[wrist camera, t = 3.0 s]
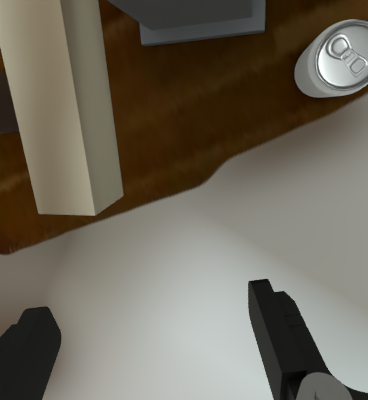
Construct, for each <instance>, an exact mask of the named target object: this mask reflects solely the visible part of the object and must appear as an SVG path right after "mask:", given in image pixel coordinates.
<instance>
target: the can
mask: <svg viewBox="0 0 368 400" xmlns="http://www.w3.org/2000/svg"><path fill="white" fill-rule="evenodd" d="M294 75H295V81H296V84H297V86H298V88H299V89H300V90H301V91H302V92H303V93H305V94H306V95H308V96H311V97H334V96H343V95H348V94H351V93H354V92H356V91H358V90H360V89H362V88H363V87H364V86H366V85H367V84H368V22H367V21H363V20H345V21H341V22H338V23H336V24H334V25H332V26H330V27H329V28H327V29H326V30H325V31H323V32H322V33H321V34H320V35H319V36H318V37H317V38H316V39H315V40H314V41H313V42H312V43H311V44H310V45H309V46H308V47H307V48H306V50H305V51H304V52H303V53H302V54H301V56H300V57H299V59H298V61H297V63H296V66H295V73H294Z"/></svg>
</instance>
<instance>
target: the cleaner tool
mask: <svg viewBox="0 0 368 400" xmlns="http://www.w3.org/2000/svg"><path fill="white" fill-rule="evenodd" d="M0 48H1V52H2V56H3V61H4V65H5V70H6V74H7V78H8V83H9V87H10V91H11V96H12V100H13V104H14V109H15V113H16V118H17V122H18V126H19V131H20V135H21V139H22V144H23V148H24V152H25V157H26V161H27V166H28V170H29V174H30V179H31V183H32V187H33V192H34V196H35V200H36V205H37V209H38V213H39V214H61V215H94V216H95V215H97V214H98V213H100V212H101V211H103V210H104V209H105V208H107V207H108V206H110V205H111V204H112V203H114V202H115V201H117V200H118V199H120V198H121V197H122V196H123V188H122V180H121V173H120V165H119V157H118V150H117V142H116V134H115V127H114V119H113V111H112V103H111V96H110V88H109V80H108V73H107V65H106V57H105V50H104V42H103V34H102V27H101V19H100V11H99V4H98V0H0Z"/></svg>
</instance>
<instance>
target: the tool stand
mask: <svg viewBox="0 0 368 400" xmlns="http://www.w3.org/2000/svg"><path fill="white" fill-rule="evenodd" d="M107 1H109V2H110V3H112V4H113V5H115V6H116V7H118V8H119V9H120V10H122V11H123V12H125V13H126V14H128V15H129V16H131V17H132V18H133V19H135V20H136V21H138V22H139V24H140V34H141V44H142V45H143V46H153V45H162V44H171V43H179V42H188V41H196V40H205V39H213V38H222V37H230V36H239V35H247V34H256V33H264V32H265V0H107Z"/></svg>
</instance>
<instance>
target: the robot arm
mask: <svg viewBox="0 0 368 400" xmlns="http://www.w3.org/2000/svg"><path fill="white" fill-rule="evenodd" d="M18 131H19V126H18V122H17V118H16V113H15V109H14V104H13V100H12V96H11V91H10V87H9V83H8V78H7V74H6V72H0V134H2V133H10V132H18ZM248 305H249V306H248V307H249V316H250V320H251V324H252V328H253V331H254V334H255V338H256V341H257V344H258V348H259V351H260V354H261V358H262V361H263V365H264V368H265V371H266V375H267V378H268V381H269V385H270V388H271V392H272V395H273V398H274V400H368V393H365V392H360V391H357V390H353V389H351V388H349V387H347V386H345V385H344V384H342V383H341V382H340V381H339V380H337V379H336V378H335V377H334V376H333V375H332V374H331V373H330V371H329V370H328V368H327V367H326V365H325V363H324V361H323V359H322V356H321V354H320V352H319V350H318V348H317V346H316V344H315V342H314V340H313V338H312V336H311V334H310V332H309V330H308V328H307V327H306V324H305V322H304V320H303V318H302V316H301V314H300V311H299V309H298V307H297V305H296V303H295V301H294V300H293V299H291V297H290V296H289V295H287V294H286V293H285V292H284V291H281V292H274V291H273V289H272V287H271V284H270V282H269V281H268V279H263V280H254V281H249V283H248ZM60 345H61V332H60V329H59V327H58V325H57V323H56V321H55V319H54V317H53V315H52V313H51V311H50V309H49V308H48V307H37V308H30V309H26V310H25V311H24V312H23V313H22V315H21V317H20V319H19V321H18V323H17V324H14V325H11V327H9V329H8V330H7V331H6V332H5V333H4V334H3V335H2V336H1V337H0V400H42V398H43V395H44V392H45V389H46V386H47V383H48V380H49V378H50V375H51V372H52V369H53V366H54V363H55V360H56V357H57V354H58V352H59V348H60Z"/></svg>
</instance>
